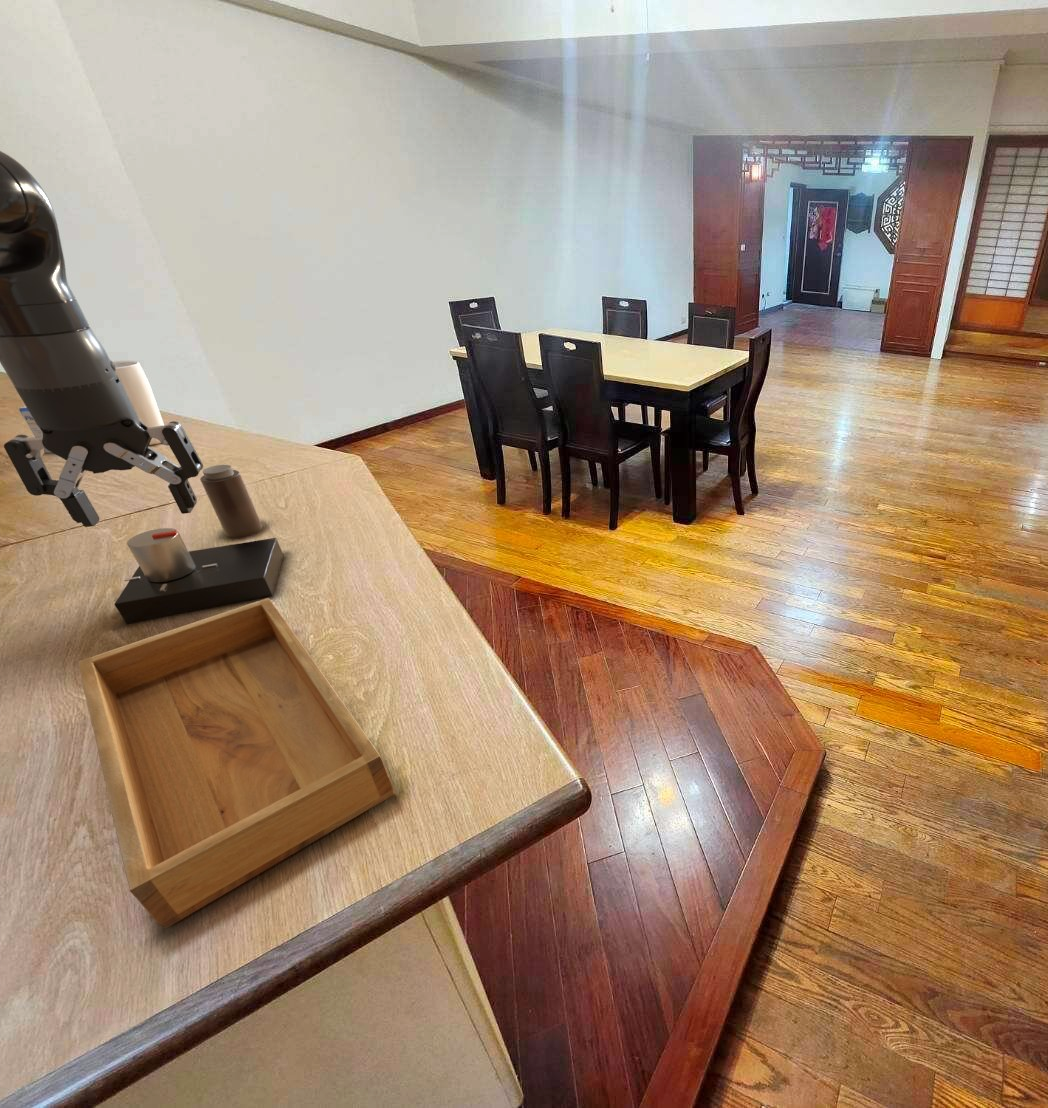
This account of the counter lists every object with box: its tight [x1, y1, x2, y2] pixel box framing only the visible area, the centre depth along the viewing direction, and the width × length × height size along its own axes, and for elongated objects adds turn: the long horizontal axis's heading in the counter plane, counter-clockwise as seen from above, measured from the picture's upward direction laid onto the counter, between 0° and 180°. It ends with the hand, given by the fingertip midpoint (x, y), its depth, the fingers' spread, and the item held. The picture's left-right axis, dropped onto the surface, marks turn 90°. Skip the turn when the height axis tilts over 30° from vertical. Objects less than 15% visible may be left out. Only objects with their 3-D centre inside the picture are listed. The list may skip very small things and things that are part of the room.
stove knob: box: [126, 527, 196, 582], centre depth 71 cm, size 5×5×5 cm
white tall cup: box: [111, 360, 165, 446], centre depth 113 cm, size 7×7×15 cm
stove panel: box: [114, 537, 285, 625], centre depth 74 cm, size 14×11×3 cm
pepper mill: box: [199, 464, 264, 539], centre depth 85 cm, size 4×4×10 cm
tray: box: [77, 597, 395, 929], centre depth 52 cm, size 31×15×6 cm, turn 48°
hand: (142, 517), depth 68 cm, fingers open, 8 cm apart
